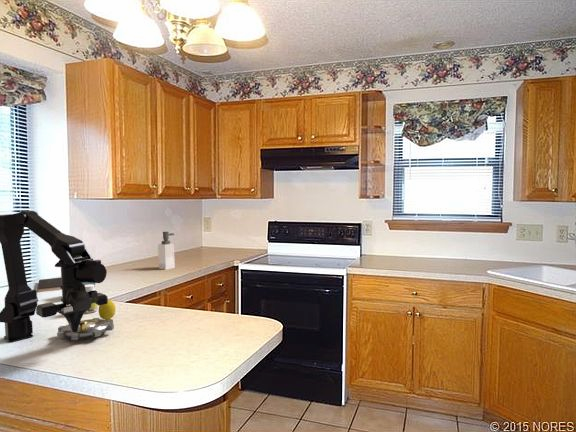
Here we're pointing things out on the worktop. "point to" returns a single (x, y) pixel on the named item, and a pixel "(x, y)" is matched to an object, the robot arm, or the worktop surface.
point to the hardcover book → (49, 284)
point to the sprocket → (86, 329)
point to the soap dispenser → (166, 253)
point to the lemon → (107, 310)
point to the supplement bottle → (93, 306)
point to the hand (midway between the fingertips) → (74, 332)
